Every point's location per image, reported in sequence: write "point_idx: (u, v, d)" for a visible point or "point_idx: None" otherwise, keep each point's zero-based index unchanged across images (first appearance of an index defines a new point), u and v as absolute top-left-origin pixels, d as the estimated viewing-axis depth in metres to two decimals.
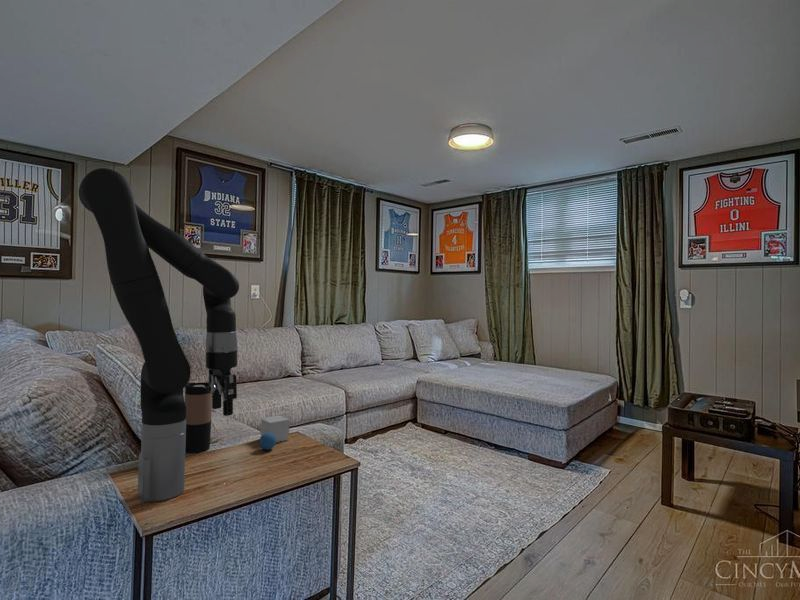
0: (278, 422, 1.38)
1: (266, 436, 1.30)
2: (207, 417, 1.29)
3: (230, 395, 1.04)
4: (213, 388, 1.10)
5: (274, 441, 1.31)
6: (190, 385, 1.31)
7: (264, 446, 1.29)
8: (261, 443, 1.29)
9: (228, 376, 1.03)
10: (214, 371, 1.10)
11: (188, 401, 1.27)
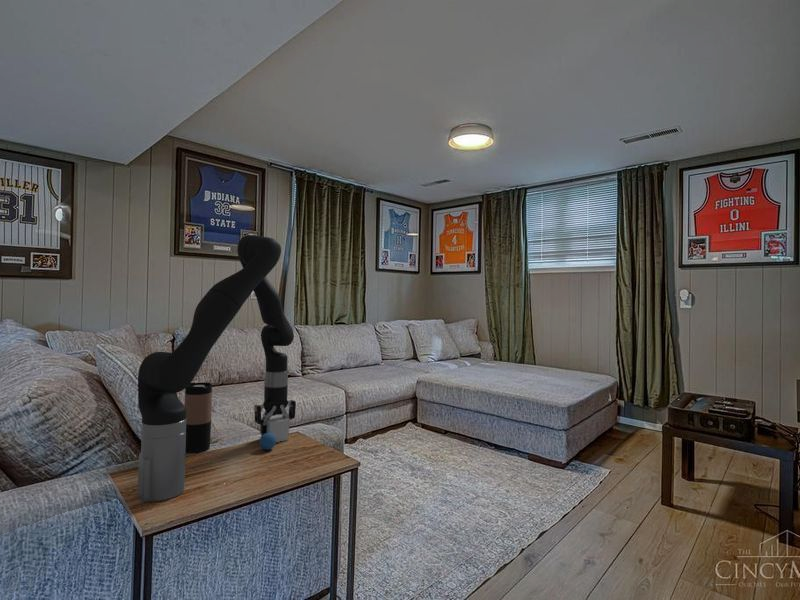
0: (278, 422, 1.38)
1: (266, 436, 1.30)
2: (207, 417, 1.29)
3: None
4: None
5: (274, 441, 1.31)
6: (190, 385, 1.31)
7: (264, 446, 1.29)
8: (261, 443, 1.29)
9: None
10: (270, 403, 1.39)
11: (188, 401, 1.27)
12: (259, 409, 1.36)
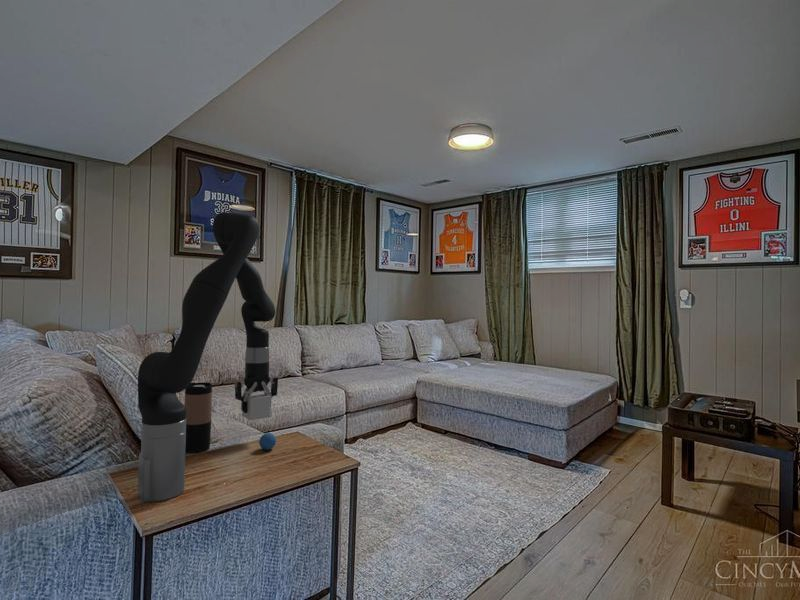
0: (259, 398, 1.36)
1: (266, 436, 1.30)
2: (207, 417, 1.29)
3: None
4: None
5: (274, 441, 1.31)
6: (190, 385, 1.31)
7: (264, 446, 1.29)
8: (261, 443, 1.29)
9: None
10: (251, 379, 1.37)
11: (188, 401, 1.27)
12: (239, 385, 1.34)
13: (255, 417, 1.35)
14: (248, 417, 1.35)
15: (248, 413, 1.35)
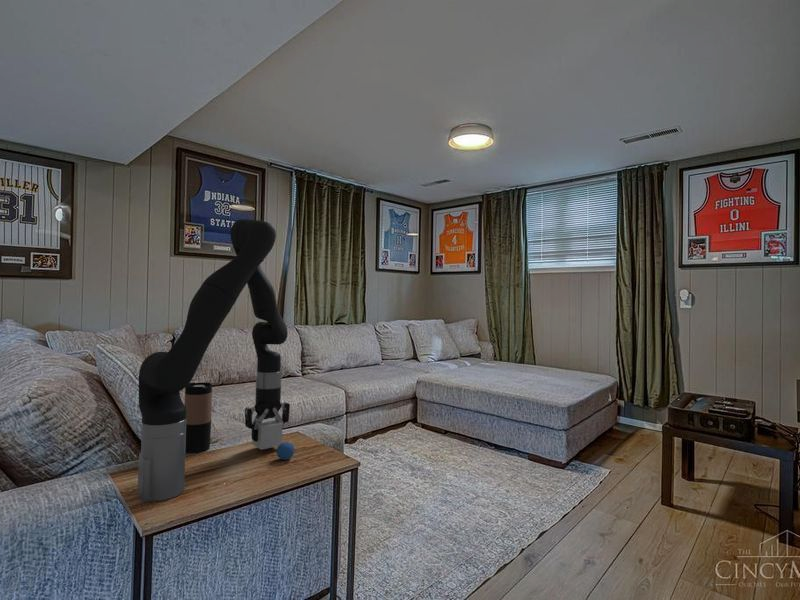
0: (270, 426, 1.29)
1: None
2: (207, 417, 1.29)
3: None
4: None
5: None
6: (190, 385, 1.31)
7: (280, 446, 1.22)
8: (277, 450, 1.22)
9: None
10: (261, 406, 1.29)
11: (188, 401, 1.27)
12: (250, 412, 1.27)
13: (266, 446, 1.28)
14: (259, 446, 1.28)
15: (259, 442, 1.28)
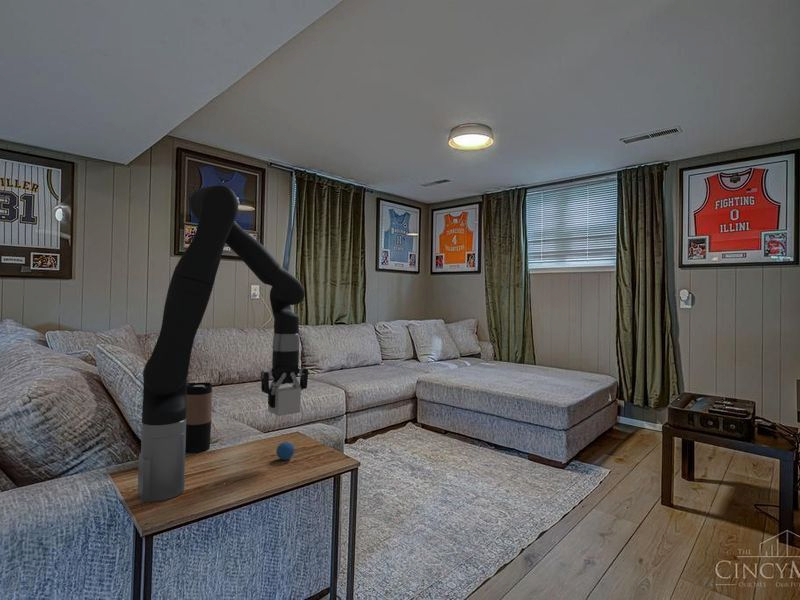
0: (288, 391, 1.20)
1: None
2: (207, 417, 1.29)
3: None
4: None
5: None
6: (190, 385, 1.31)
7: (280, 446, 1.22)
8: (277, 450, 1.22)
9: None
10: (279, 370, 1.21)
11: (188, 401, 1.27)
12: (267, 376, 1.18)
13: (284, 412, 1.20)
14: (276, 412, 1.19)
15: (276, 408, 1.19)
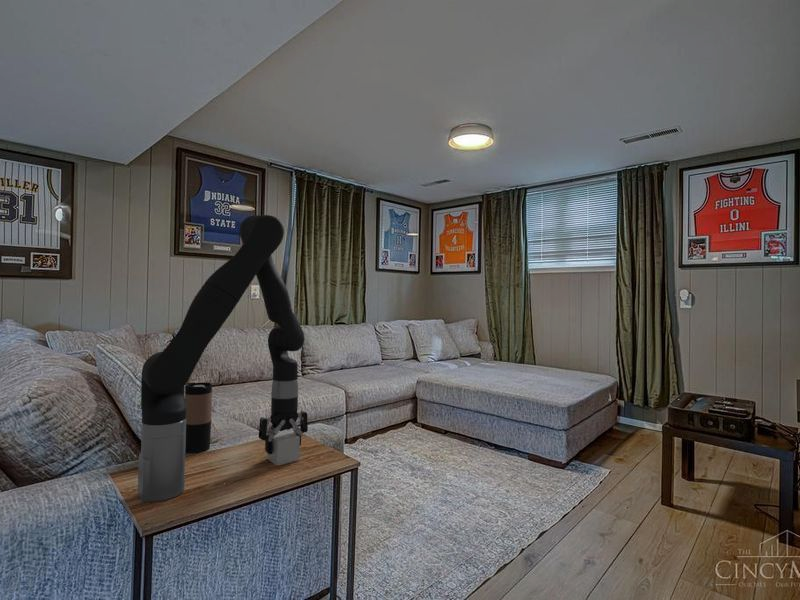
0: (287, 440, 1.20)
1: None
2: (207, 417, 1.29)
3: None
4: None
5: None
6: (190, 385, 1.31)
7: None
8: None
9: None
10: (278, 417, 1.21)
11: (188, 401, 1.27)
12: (265, 423, 1.18)
13: (283, 462, 1.19)
14: (275, 462, 1.19)
15: (275, 457, 1.19)
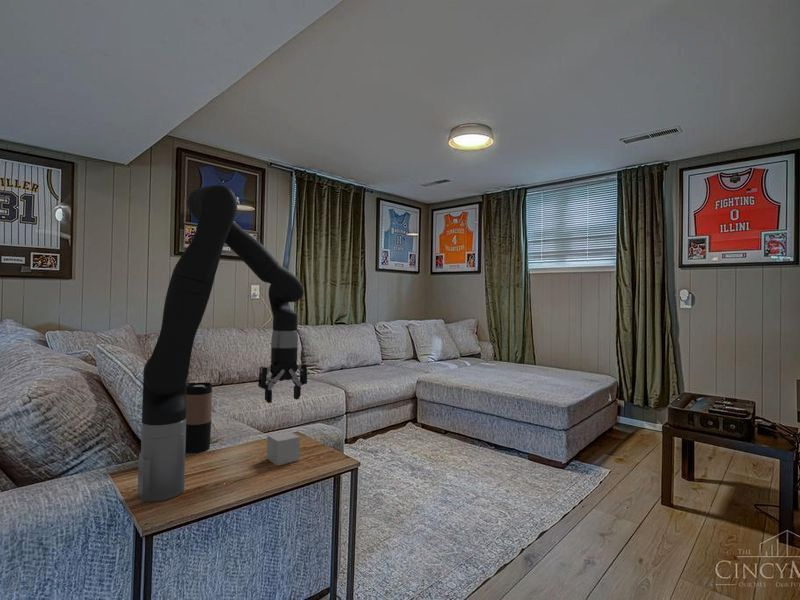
0: (287, 440, 1.20)
1: None
2: (207, 417, 1.29)
3: None
4: None
5: None
6: (190, 385, 1.31)
7: None
8: None
9: None
10: (278, 366, 1.22)
11: (188, 401, 1.27)
12: (265, 371, 1.19)
13: (283, 462, 1.19)
14: (275, 462, 1.19)
15: (275, 457, 1.19)
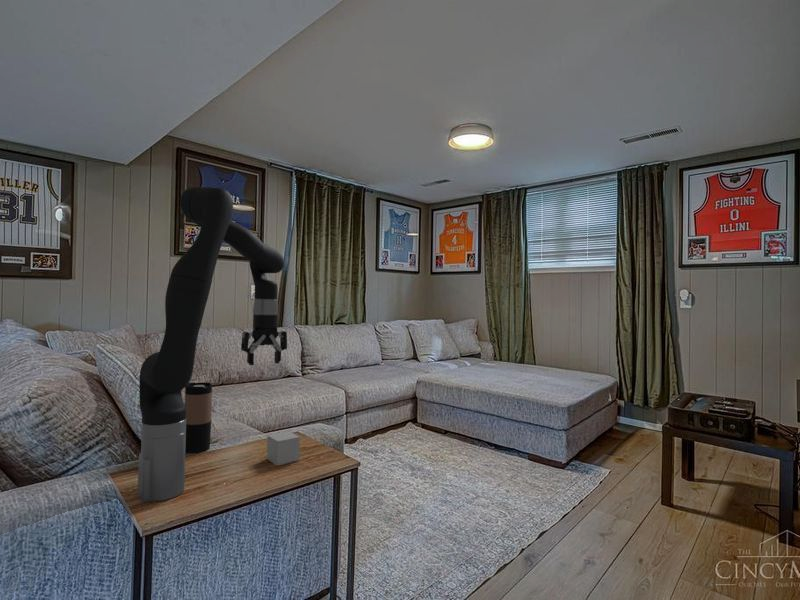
0: (287, 440, 1.20)
1: None
2: (207, 417, 1.29)
3: None
4: None
5: None
6: (190, 385, 1.31)
7: None
8: None
9: None
10: (259, 332, 1.32)
11: (188, 401, 1.27)
12: (247, 335, 1.30)
13: (283, 462, 1.19)
14: (275, 462, 1.19)
15: (275, 457, 1.19)
